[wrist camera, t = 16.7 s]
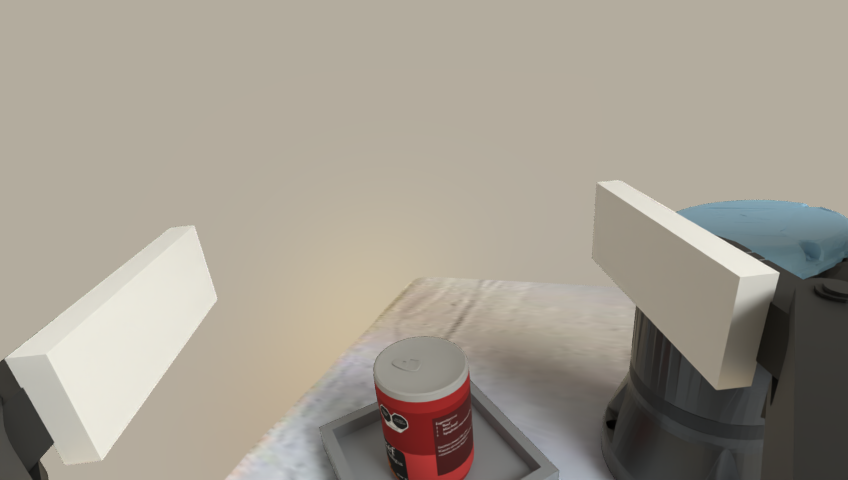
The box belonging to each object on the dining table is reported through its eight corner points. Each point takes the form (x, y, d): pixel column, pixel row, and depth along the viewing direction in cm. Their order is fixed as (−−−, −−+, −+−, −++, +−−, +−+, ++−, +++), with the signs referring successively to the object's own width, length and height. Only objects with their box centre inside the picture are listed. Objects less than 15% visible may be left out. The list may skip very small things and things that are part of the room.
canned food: (391, 428, 45) (377, 338, 41) (471, 424, 45) (465, 332, 40) (384, 499, 38) (366, 398, 34) (478, 495, 38) (472, 392, 33)
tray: (458, 383, 52) (456, 366, 51) (558, 490, 38) (558, 470, 37) (323, 446, 45) (319, 427, 44) (388, 600, 32) (384, 579, 31)
